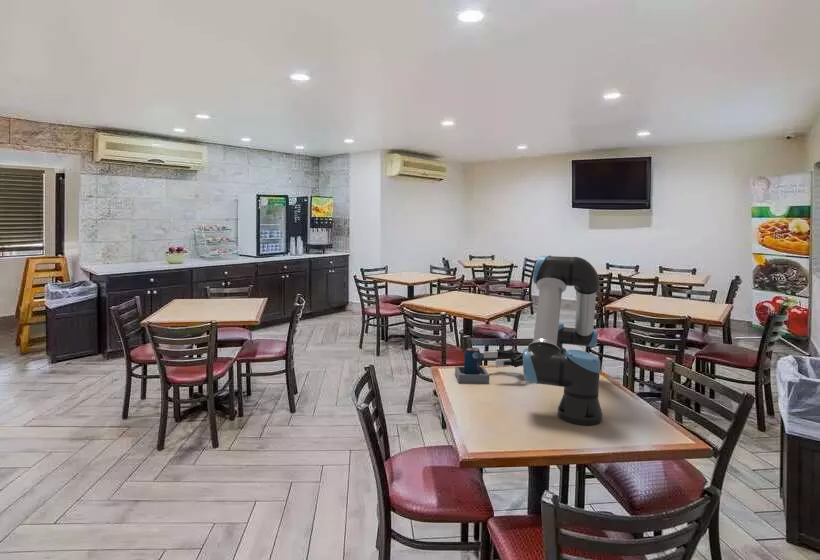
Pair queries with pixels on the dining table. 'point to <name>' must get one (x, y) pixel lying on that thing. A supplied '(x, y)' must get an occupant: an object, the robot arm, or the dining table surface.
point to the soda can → (472, 361)
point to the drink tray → (471, 376)
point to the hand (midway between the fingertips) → (489, 358)
